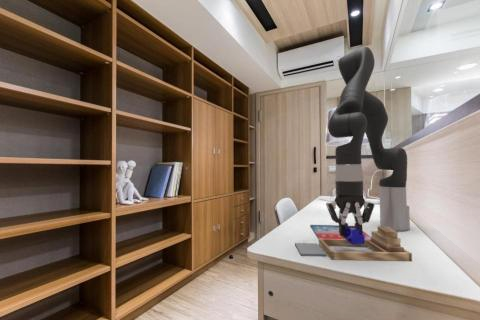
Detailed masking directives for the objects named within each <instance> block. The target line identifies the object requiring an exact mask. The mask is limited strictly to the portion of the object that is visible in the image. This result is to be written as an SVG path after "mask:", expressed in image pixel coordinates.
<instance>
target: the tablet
mask: <svg viewBox="0 0 480 320" xmlns="http://www.w3.org/2000/svg"><path fill="white" fill-rule="evenodd" d="M309 227H310V228H311V229H312V232H313V233H314V235H315V236H316V237H317V239H318V240H319V239H344V238H343V237H342V236H340V233H339V224H338V225H337V224H336V225H331V224H310V226H309ZM348 228H355V225H348ZM362 232H363V234H364V239H371V236H370V235H369V234H368V233H367V232H365V231H364V230H362ZM344 247H346V248H348V247H349V248H350V247H351V248H366V249H367V248H368V247H367V246H344ZM368 249H369V248H368Z"/></svg>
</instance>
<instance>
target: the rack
mask: <svg viewBox="0 0 480 320" xmlns="http://www.w3.org/2000/svg"><path fill="white" fill-rule="evenodd" d="M364 240H365V244H351V243H350V242H349V241H347V240H346V239H318V246H319V247H320V248H321V249H322V250H323V251H324V253H325V254H326V256H327V257H329V259H330V260H332V261H333V260H335V261H381V262H382V261H387V262H388V261H389V262H391V261H393V262H394V261H395V262H400V261H401V262H413V255H412V254H413V253H412V252H410V251H408V250H406V249H404V252H387V251H385V250H384V249H382V248H381V247H379V246H377V245H376V244H374V243H373V242H371V239H364ZM345 246H367V247H368V249H369V250H371V251H346V250H345V251H344V250H343V251H341V250H340V251H337V250H336V251H335V250H332V249H331V247H345ZM367 247H366V248H367Z"/></svg>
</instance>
